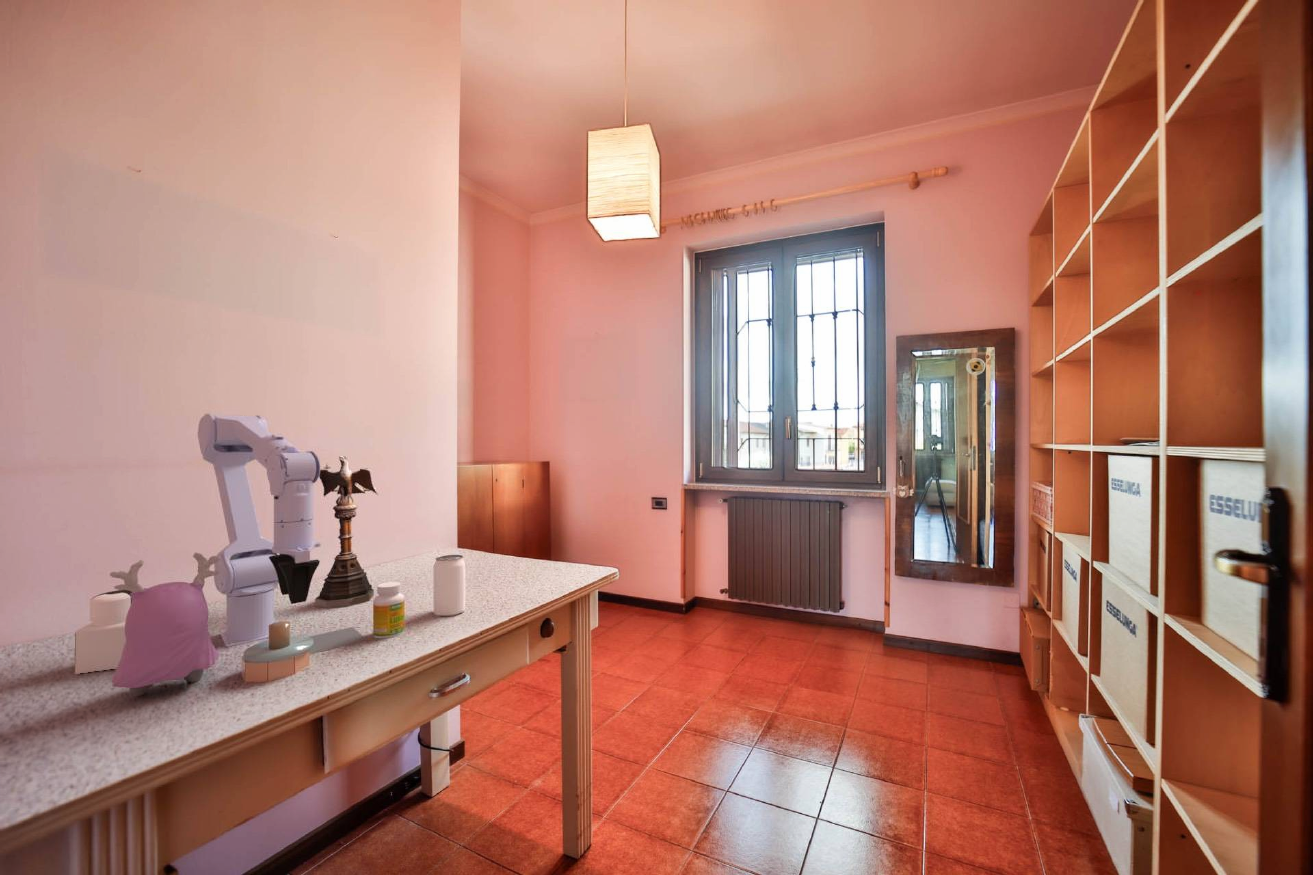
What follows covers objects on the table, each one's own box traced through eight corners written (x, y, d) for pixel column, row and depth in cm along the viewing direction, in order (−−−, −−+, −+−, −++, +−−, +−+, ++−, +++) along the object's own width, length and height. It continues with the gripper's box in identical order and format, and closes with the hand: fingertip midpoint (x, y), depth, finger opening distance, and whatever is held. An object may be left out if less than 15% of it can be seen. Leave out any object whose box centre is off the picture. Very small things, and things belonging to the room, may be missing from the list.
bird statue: (323, 591, 132) (322, 453, 132) (380, 586, 136) (380, 452, 136) (300, 610, 116) (300, 454, 117) (366, 604, 120) (366, 453, 121)
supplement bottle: (391, 640, 97) (391, 588, 97) (366, 639, 98) (366, 587, 98) (410, 630, 103) (410, 581, 103) (386, 629, 104) (386, 580, 104)
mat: (292, 642, 97) (292, 640, 97) (352, 628, 104) (352, 626, 104) (304, 657, 90) (304, 655, 90) (367, 641, 97) (367, 639, 97)
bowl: (239, 672, 84) (239, 652, 84) (301, 656, 90) (301, 638, 90) (247, 688, 78) (247, 667, 78) (313, 671, 84) (312, 651, 84)
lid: (236, 652, 84) (236, 625, 84) (303, 636, 91) (303, 611, 91) (251, 668, 78) (251, 638, 78) (321, 649, 85) (321, 622, 85)
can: (471, 610, 115) (471, 556, 115) (445, 618, 109) (445, 561, 110) (453, 606, 118) (452, 553, 119) (427, 613, 113) (427, 558, 113)
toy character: (217, 666, 87) (217, 545, 87) (221, 686, 79) (222, 554, 80) (112, 689, 78) (113, 556, 79) (106, 715, 71) (107, 568, 71)
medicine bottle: (99, 659, 90) (100, 589, 90) (153, 652, 93) (153, 584, 93) (73, 675, 84) (74, 600, 84) (132, 667, 86) (132, 595, 87)
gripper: (330, 521, 89) (330, 601, 89) (310, 514, 100) (310, 585, 99) (280, 526, 84) (280, 610, 84) (265, 518, 95) (264, 593, 94)
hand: (293, 597), depth 91 cm, fingers open, 7 cm apart
